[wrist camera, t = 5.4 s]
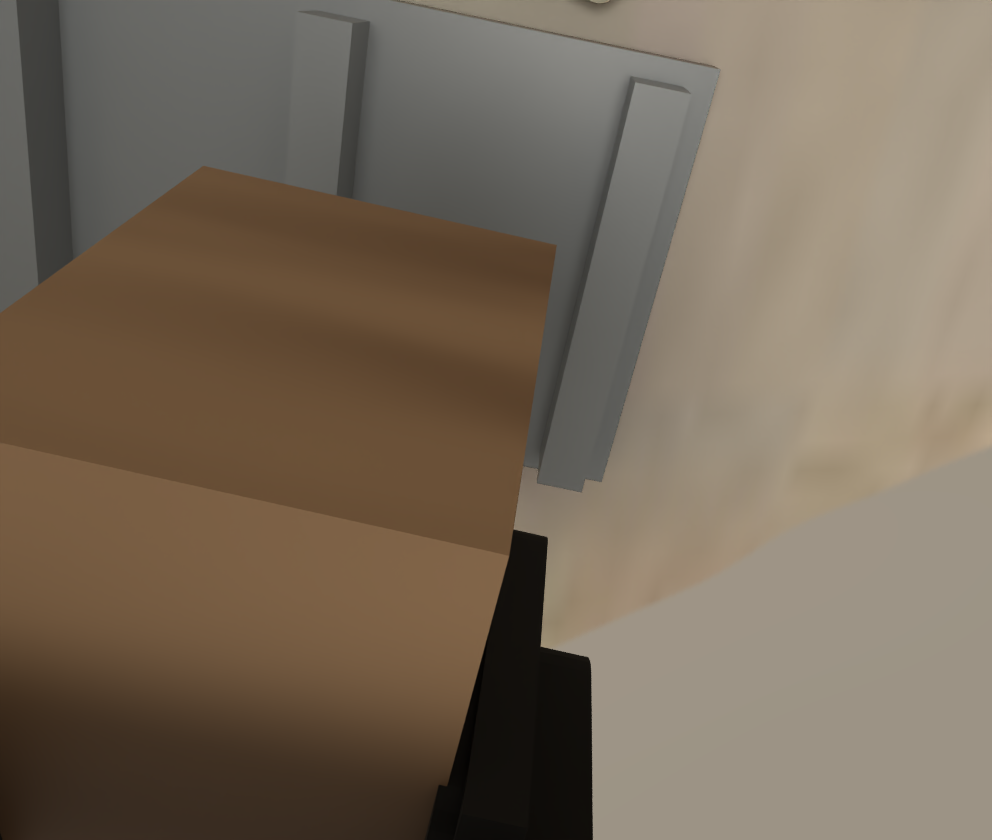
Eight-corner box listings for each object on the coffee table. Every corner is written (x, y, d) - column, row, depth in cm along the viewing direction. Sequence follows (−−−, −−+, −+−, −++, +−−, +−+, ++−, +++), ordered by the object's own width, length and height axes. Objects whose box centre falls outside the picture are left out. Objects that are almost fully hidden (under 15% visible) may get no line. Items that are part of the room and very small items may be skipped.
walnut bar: (203, 165, 9) (-136, 411, 5) (556, 245, 9) (509, 554, 5) (211, 640, 14) (36, 975, 10) (448, 692, 14) (375, 1049, 10)
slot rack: (34, 346, 24) (-23, 383, 22) (-2, -84, 19) (-81, -95, 17) (600, 464, 24) (602, 513, 22) (714, 66, 19) (732, 76, 17)
